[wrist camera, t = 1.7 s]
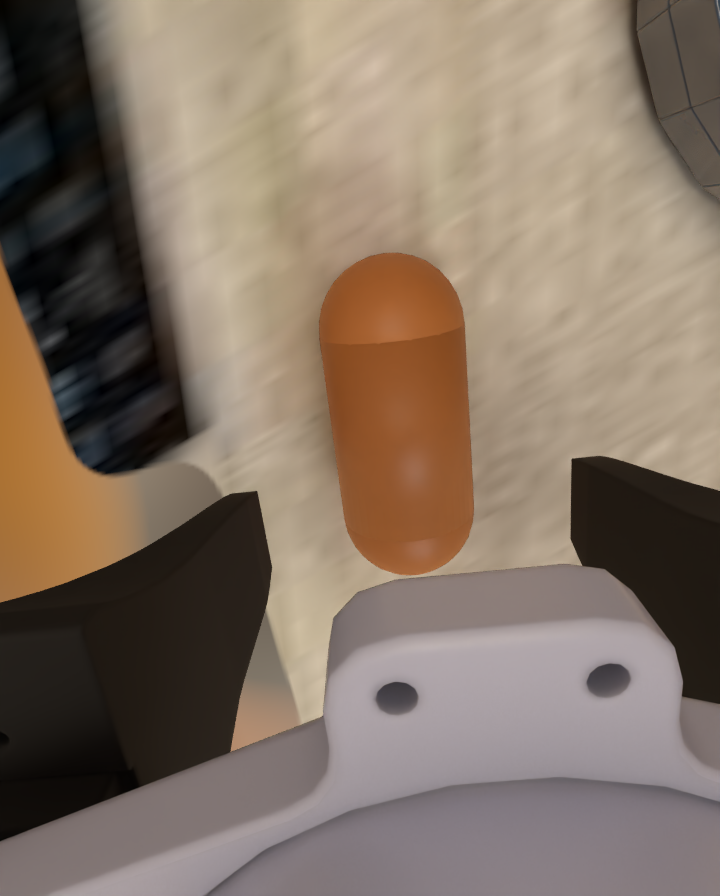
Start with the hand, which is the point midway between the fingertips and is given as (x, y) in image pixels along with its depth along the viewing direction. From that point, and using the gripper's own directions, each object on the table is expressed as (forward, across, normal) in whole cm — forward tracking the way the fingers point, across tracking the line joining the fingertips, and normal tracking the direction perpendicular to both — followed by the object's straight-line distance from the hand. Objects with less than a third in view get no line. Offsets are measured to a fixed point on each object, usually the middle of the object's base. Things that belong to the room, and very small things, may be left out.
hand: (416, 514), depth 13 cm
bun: (+9, 0, 0) cm, 9 cm away
